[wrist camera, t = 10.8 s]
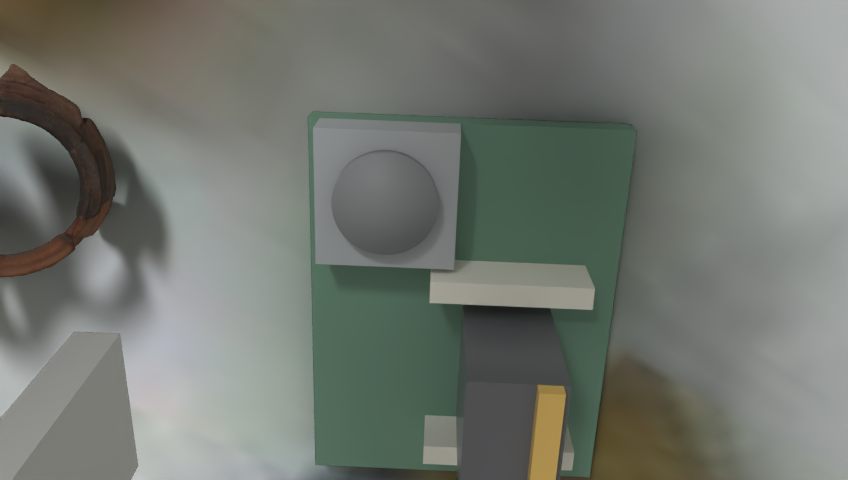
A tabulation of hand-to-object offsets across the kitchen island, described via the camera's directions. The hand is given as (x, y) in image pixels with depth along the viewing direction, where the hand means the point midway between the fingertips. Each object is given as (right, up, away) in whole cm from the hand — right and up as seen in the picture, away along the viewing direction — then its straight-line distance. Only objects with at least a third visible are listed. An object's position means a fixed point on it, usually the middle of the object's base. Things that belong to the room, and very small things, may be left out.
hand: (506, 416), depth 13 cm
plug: (+2, -3, +24) cm, 24 cm away
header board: (0, 0, +24) cm, 24 cm away
